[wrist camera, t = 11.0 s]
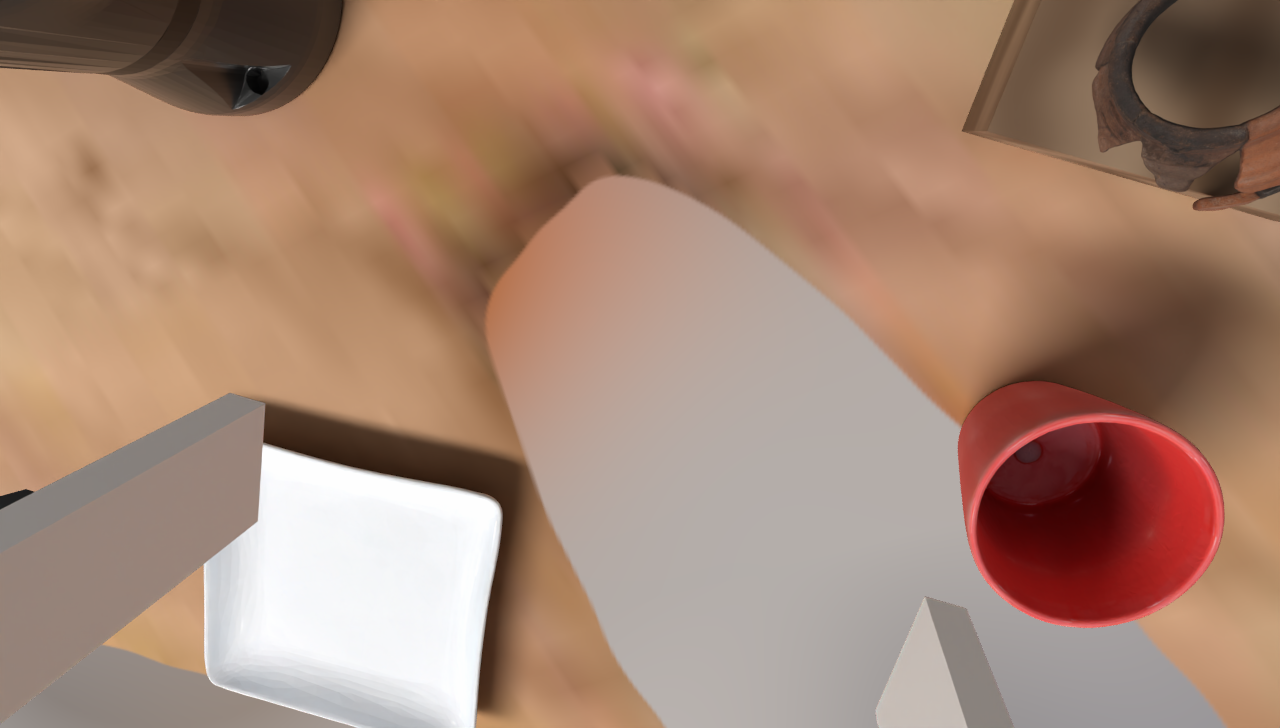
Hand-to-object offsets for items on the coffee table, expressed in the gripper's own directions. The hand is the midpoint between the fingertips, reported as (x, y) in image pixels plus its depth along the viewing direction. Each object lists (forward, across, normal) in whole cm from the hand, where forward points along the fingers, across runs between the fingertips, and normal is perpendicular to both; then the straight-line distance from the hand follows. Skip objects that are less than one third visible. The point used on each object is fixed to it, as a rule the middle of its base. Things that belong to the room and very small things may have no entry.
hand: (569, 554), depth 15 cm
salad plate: (+31, -18, -28) cm, 46 cm away
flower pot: (+31, +21, -5) cm, 37 cm away
